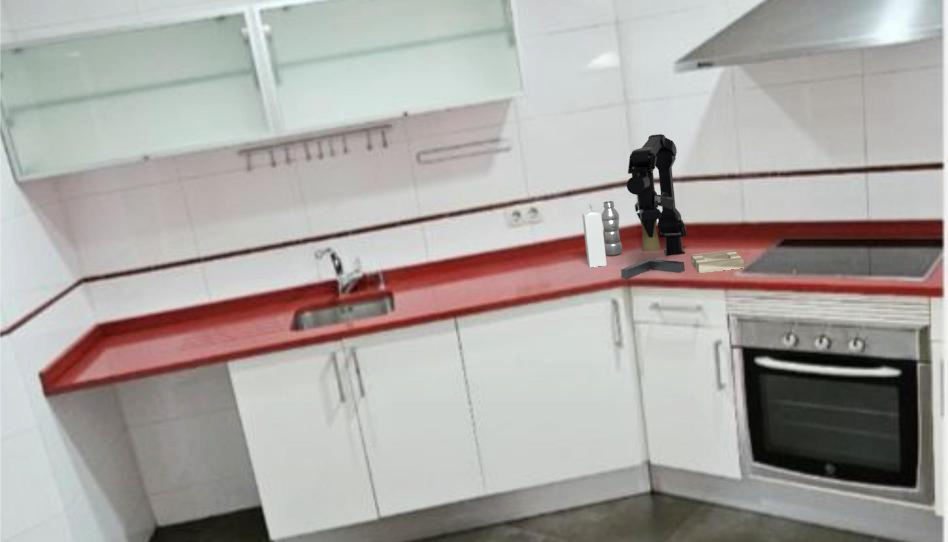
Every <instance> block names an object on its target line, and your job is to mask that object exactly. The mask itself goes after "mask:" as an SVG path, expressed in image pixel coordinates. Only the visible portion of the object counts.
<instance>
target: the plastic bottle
mask: <svg viewBox="0 0 948 542" xmlns="http://www.w3.org/2000/svg"><path fill="white" fill-rule="evenodd" d="M614 207H615V201H612V200H608V201H604V202H603V211H602V213H601V216H602V226H603V235H604V245H605V254H606V256H617V255H620V254H622V251H623V245H622V242H621V237H620V227H619V225H620V214H619V212H618V210H616V209H615V208H614Z"/></svg>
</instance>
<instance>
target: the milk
mask: <svg viewBox="0 0 948 542" xmlns="http://www.w3.org/2000/svg"><path fill="white" fill-rule="evenodd" d="M588 204H589V205H588V206H589V208H588V209H586V210H585V211H584V212H582V213H581V214H582V222H583V223H582V224H583V232H584V243H585V251H586V259H587V260H586V261H587V265H588V267H589V268H590V269H592V268H591V267H594V268H599V267H598V266H602V267H607V266H608V265H607V254H606V253H605V245H604V243H605V234H604V227H603V223H602V216H601V215H602V213H601V212H600V211H599V210H597V209H594V208H593V205H591V203H588ZM606 265H607V266H606Z"/></svg>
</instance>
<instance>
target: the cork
mask: <svg viewBox="0 0 948 542" xmlns="http://www.w3.org/2000/svg"><path fill="white" fill-rule="evenodd" d="M657 220H658V219H657ZM657 220H656V221H655V224H654V231H653V237H650V238H649V236H648V234H647V232H646V230H645V228H644V226H643V224H642V222H641V221H640V226H641V227H642V236H641V237H642V239H641V240H642V241H641V243H642V244H641V251H642V252H646V253H648V252H649V253H650V252H656V251H659V250H661V243H660V240H659V234H658V231H657V230H658V229H657V227H656V225H658V221H657Z"/></svg>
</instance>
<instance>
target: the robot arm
mask: <svg viewBox="0 0 948 542" xmlns="http://www.w3.org/2000/svg"><path fill="white" fill-rule="evenodd" d="M677 152H678V151H677V147H676V144H675V142H674V141H673V140H672V139H670V138H667V137H666V136H665V134H662V133H660V134H658V133H657V134H651V135H649V136H648V139H647V140H646V142H645V143H644V144H643V145H642V147H641V148H636V149H634V150H632V152H631V153H630V156H629V160H628V169H627V174H629V175H630V174H631V177H629V179H628V180H627V183H626V189H627V191H628V192H629V193H631V194H632V195H636V199H637V201H636V203H635V204H634V210H635V212H636V215H637V217H638V218H639V220H640V223H641V222H642V224H643V226H644V228H645V230H646V232H647V234H648V236H649V238H650V237H653V231H654V224H655V221H656V220H658V221H657V230H658V231H657V232H658V237H659V238H664V241H665V242H664V243H665V250H664V251H663V252H664V254H665V255H666V256H672V255H673V256H674V255H680V254H681V255H682V254H685V253H686V252H685V250H684V249H683V241H682V239H683V238H684V237H686V236H687V235H688V234H687V227H686V225H685V223H684V220H682V215H681V213H680V211H678V209H677V208H676V199H675V190H674V188H675V187H674V179H673V168H672V167H673V166H674V163H675V161H676V157H677ZM655 169H657V170H658V179H659V188H660V189H659V190H660V194H658V193H657V192H656V190H655V189H656V188H655V177H654V170H655ZM659 207H661V209H662V210H660V209H659Z"/></svg>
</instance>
